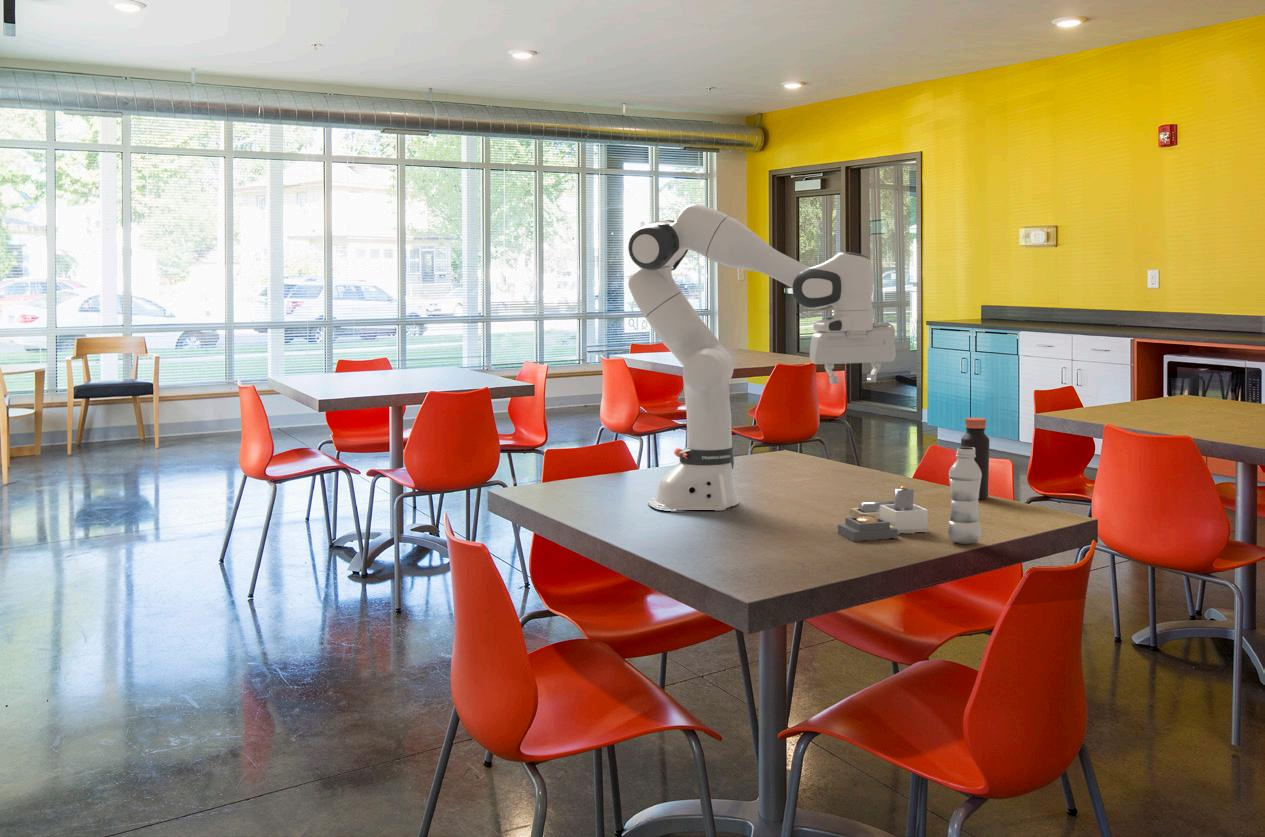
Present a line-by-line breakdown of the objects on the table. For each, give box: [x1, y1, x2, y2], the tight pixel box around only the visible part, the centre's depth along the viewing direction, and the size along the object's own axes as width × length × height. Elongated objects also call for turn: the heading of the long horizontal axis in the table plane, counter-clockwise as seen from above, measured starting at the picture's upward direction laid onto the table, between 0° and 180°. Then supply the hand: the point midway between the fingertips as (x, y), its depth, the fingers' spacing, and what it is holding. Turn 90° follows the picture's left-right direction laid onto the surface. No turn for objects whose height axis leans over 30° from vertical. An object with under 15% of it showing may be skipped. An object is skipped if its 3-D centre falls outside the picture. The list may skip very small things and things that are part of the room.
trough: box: [849, 507, 880, 517], centre depth 240 cm, size 11×6×3 cm, turn 103°
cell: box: [893, 485, 915, 511], centre depth 232 cm, size 4×4×9 cm
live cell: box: [857, 500, 894, 513], centre depth 240 cm, size 9×4×4 cm, turn 103°
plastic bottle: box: [947, 446, 982, 545], centre depth 219 cm, size 6×7×20 cm
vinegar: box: [960, 417, 990, 500], centre depth 266 cm, size 7×7×20 cm
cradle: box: [837, 516, 898, 542], centre depth 228 cm, size 10×8×4 cm
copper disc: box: [856, 517, 878, 523], centre depth 228 cm, size 5×5×1 cm
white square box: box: [880, 503, 929, 535], centre depth 233 cm, size 8×8×5 cm
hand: (852, 382), depth 246 cm, fingers open, 8 cm apart
